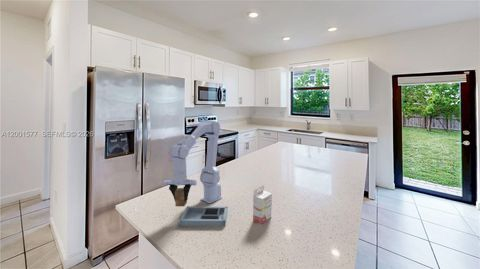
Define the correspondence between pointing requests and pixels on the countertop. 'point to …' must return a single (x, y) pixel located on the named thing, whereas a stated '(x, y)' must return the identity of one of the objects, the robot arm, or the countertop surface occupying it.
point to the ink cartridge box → (261, 205)
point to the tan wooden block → (180, 197)
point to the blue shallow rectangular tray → (204, 216)
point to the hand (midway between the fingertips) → (181, 200)
